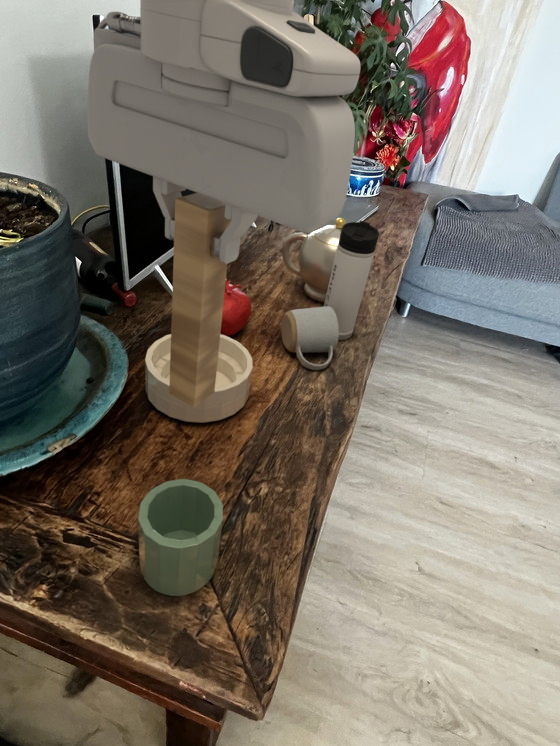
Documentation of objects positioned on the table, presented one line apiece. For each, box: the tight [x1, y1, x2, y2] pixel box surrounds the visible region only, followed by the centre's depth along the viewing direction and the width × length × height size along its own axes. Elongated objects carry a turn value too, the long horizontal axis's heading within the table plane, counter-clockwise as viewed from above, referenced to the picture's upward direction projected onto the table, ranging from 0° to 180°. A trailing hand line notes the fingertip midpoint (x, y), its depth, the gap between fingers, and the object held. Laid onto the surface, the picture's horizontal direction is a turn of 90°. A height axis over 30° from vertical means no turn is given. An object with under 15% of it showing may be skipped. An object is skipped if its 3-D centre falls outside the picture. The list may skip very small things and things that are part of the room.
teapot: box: [281, 217, 347, 304], centre depth 99 cm, size 18×14×16 cm
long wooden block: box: [169, 192, 231, 407], centre depth 41 cm, size 3×3×18 cm
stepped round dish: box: [144, 333, 254, 423], centre depth 70 cm, size 15×15×6 cm
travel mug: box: [323, 220, 380, 341], centre depth 86 cm, size 6×7×20 cm
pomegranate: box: [220, 278, 252, 337], centre depth 85 cm, size 10×10×9 cm
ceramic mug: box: [280, 306, 339, 371], centre depth 82 cm, size 11×8×8 cm
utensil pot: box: [137, 478, 224, 597], centre depth 48 cm, size 8×8×8 cm
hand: (201, 249), depth 38 cm, fingers closed on long wooden block, 3 cm apart
